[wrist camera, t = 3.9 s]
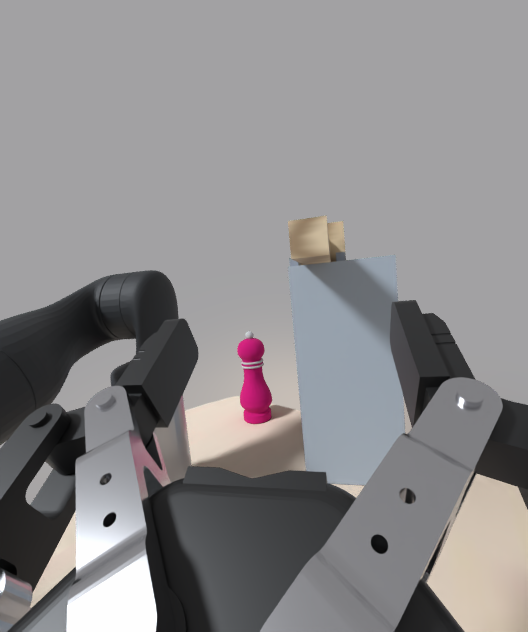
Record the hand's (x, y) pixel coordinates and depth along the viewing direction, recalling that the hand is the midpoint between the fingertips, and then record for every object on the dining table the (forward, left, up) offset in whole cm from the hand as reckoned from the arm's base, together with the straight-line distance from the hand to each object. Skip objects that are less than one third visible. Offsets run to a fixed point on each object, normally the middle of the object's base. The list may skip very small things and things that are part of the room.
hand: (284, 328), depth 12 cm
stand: (+3, +37, -28) cm, 46 cm away
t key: (0, +30, +4) cm, 31 cm away
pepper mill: (-17, +53, -28) cm, 63 cm away
